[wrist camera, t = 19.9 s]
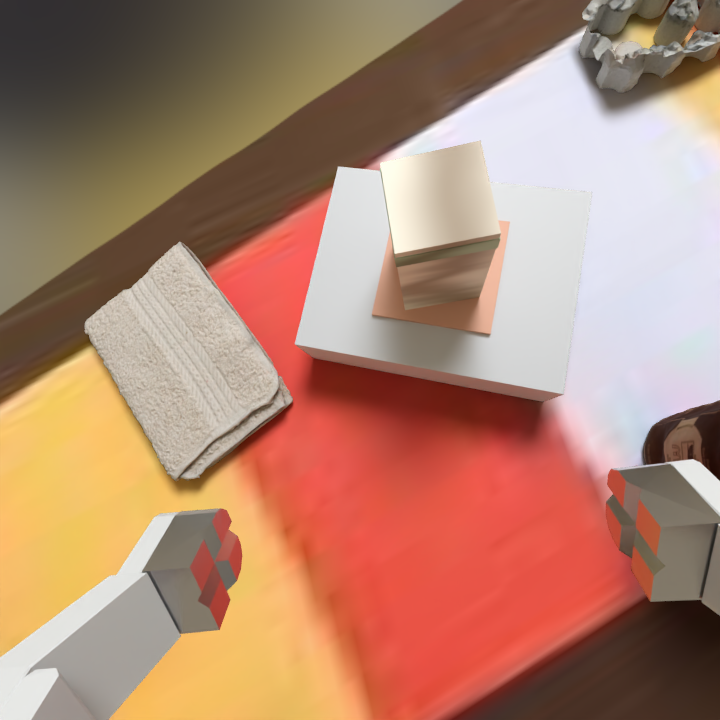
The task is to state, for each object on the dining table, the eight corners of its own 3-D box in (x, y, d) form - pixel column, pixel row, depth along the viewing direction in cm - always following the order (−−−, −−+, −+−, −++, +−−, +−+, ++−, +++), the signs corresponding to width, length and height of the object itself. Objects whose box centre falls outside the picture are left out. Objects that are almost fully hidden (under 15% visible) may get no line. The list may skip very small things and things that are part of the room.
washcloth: (194, 490, 36) (172, 494, 33) (92, 330, 40) (65, 320, 37) (306, 397, 36) (294, 393, 32) (192, 248, 40) (172, 232, 37)
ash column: (404, 311, 30) (393, 255, 21) (393, 242, 31) (378, 162, 22) (480, 297, 29) (502, 234, 20) (466, 228, 30) (481, 139, 21)
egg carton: (599, 105, 36) (620, 63, 32) (567, 35, 38) (583, -13, 34) (733, 60, 35) (771, 11, 31) (693, -10, 37) (725, -65, 33)
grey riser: (313, 358, 35) (293, 343, 30) (350, 202, 38) (337, 164, 32) (543, 401, 32) (564, 393, 27) (569, 227, 34) (594, 189, 29)
